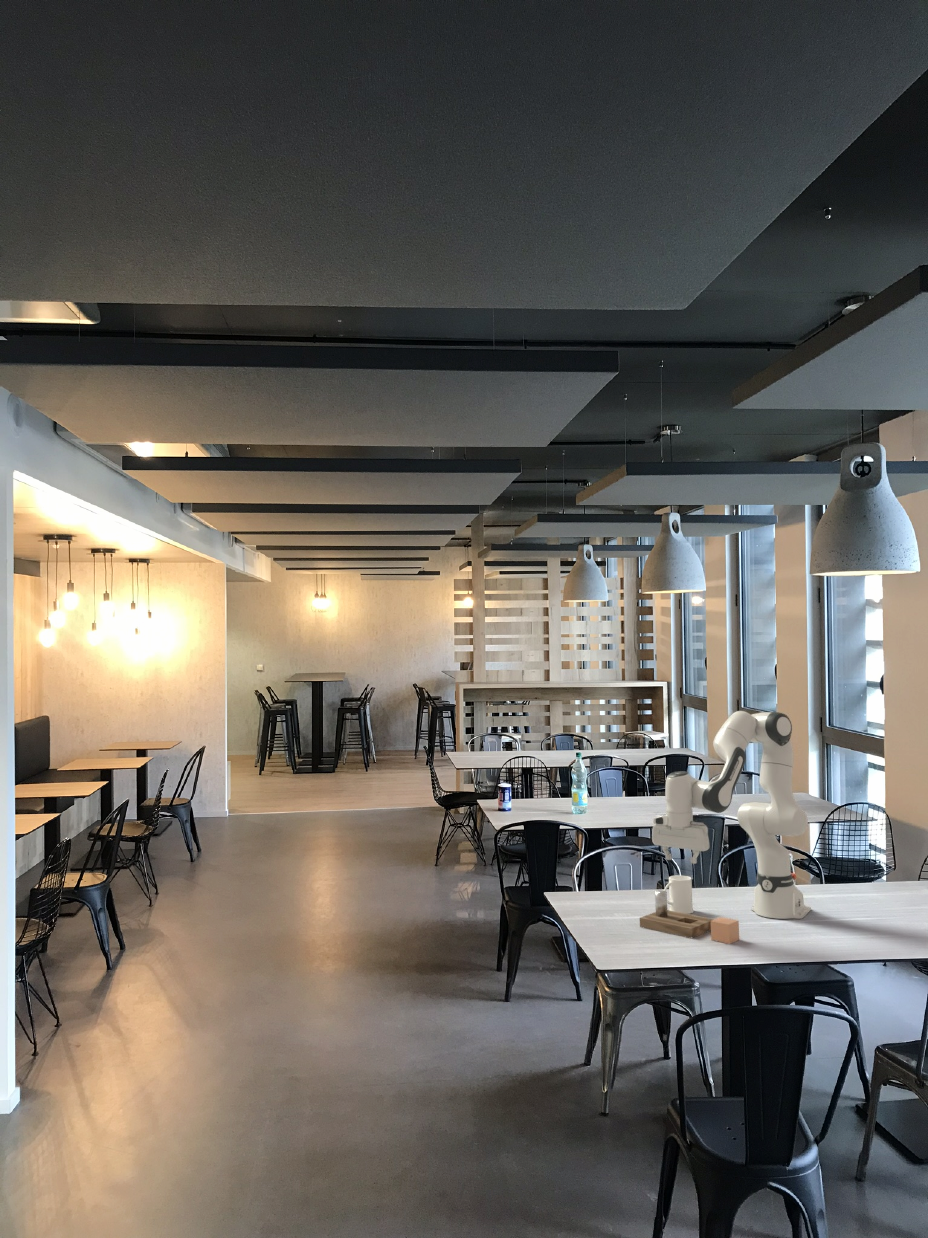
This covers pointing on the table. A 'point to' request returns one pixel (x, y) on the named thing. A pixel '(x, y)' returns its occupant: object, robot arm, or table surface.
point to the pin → (661, 903)
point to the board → (677, 923)
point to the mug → (680, 894)
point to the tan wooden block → (725, 930)
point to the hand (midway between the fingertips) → (681, 861)
